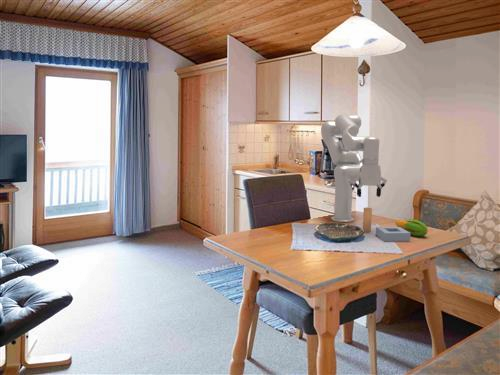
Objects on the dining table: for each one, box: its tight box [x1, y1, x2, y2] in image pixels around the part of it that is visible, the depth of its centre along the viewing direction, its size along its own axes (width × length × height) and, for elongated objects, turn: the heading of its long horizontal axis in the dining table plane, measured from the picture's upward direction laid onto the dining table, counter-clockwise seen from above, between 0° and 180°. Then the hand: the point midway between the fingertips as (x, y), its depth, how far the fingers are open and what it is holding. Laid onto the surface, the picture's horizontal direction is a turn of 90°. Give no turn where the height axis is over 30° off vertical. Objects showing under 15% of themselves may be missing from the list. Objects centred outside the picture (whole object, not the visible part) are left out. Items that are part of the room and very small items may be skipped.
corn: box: [395, 217, 429, 238], centre depth 212 cm, size 7×8×20 cm
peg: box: [362, 206, 373, 233], centre depth 215 cm, size 4×4×12 cm
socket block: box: [375, 226, 411, 243], centre depth 203 cm, size 12×12×4 cm
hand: (368, 196), depth 213 cm, fingers open, 9 cm apart
